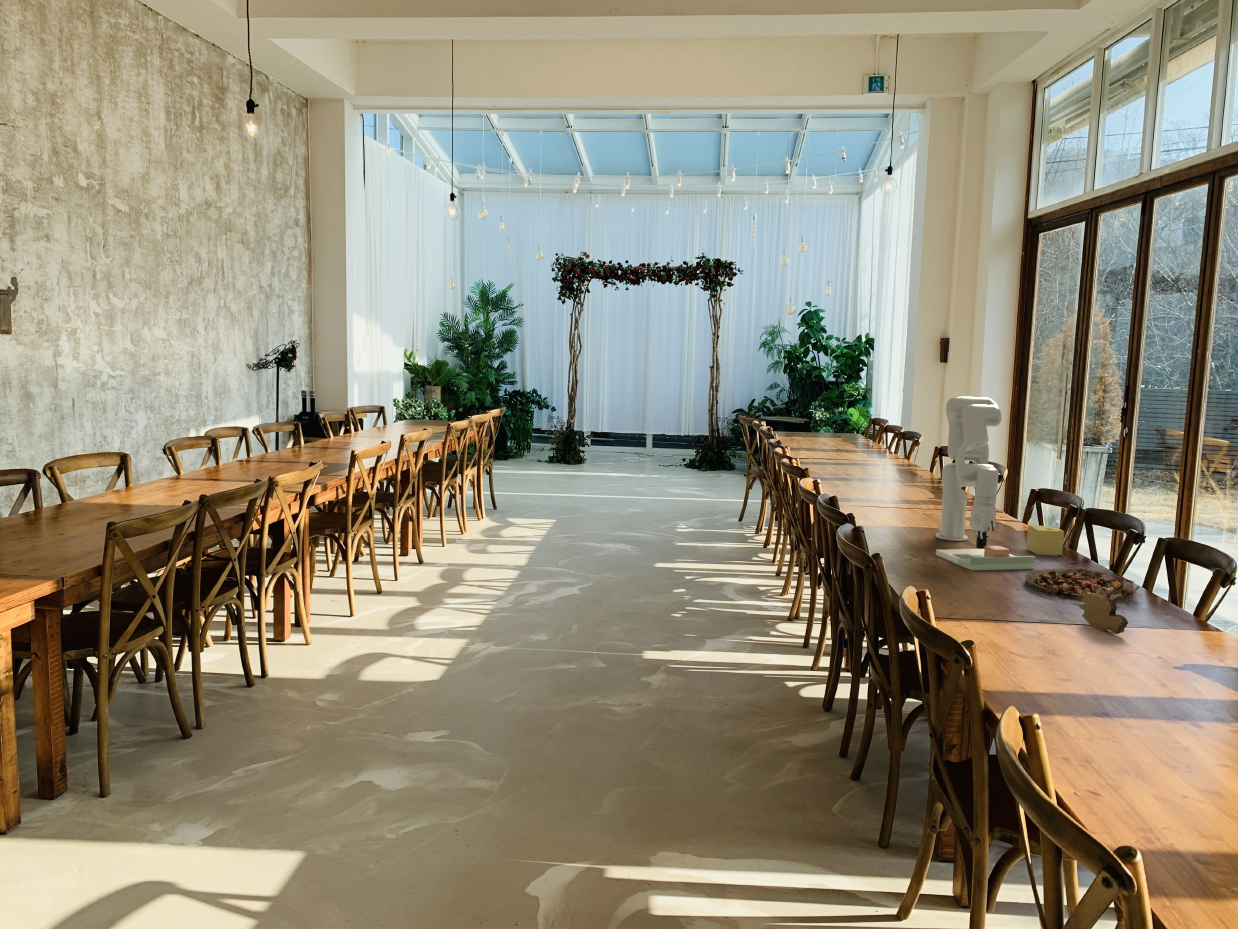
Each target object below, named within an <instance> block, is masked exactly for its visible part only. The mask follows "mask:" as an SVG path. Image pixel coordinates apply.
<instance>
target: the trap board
mask: <svg viewBox="0 0 1238 929" xmlns="http://www.w3.org/2000/svg"><path fill="white" fill-rule="evenodd" d="M935 550H936V551H935V556H938V557H940V558H942V559H945V560H947V561H949V562H952V563H954V564H955V565H958V566H960V567H963V568H965V569H968V570H970V571H989V570H990V571H992V570H993V571H995V570H998V571H999V570H1031V569H1032V570H1034V569H1035V564H1036V556H1034V555H1015V554H1014V555H1013V554H1011V553H1009V557H984V549H978V548H951V549H947V548H946V549H945V548H944V549H935Z"/></svg>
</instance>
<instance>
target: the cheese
mask: <svg viewBox="0 0 1238 929" xmlns="http://www.w3.org/2000/svg"><path fill="white" fill-rule="evenodd" d="M1026 532H1027V533H1026V541H1027V550H1028V551H1030V552H1032V553H1033V554H1035V555H1037V556H1038V555H1039V556H1040V555H1041V556H1058V555H1063V551H1064V549H1063V548H1064V538H1065V531H1064V530H1062V528H1061V529H1060V528H1058V527H1052V526H1051V527H1050V526H1045V525H1036V524H1029V525H1028V527H1027V531H1026Z"/></svg>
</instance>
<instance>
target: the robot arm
mask: <svg viewBox="0 0 1238 929" xmlns="http://www.w3.org/2000/svg"><path fill="white" fill-rule="evenodd" d="M945 413H946V414H945V415H946V418H947V421H948V435H947V436H948V438H947V439H948V440H947V455H948V457H949V459H950V460H955V461H954V462H953V463H948V464H945V465H944V466H943V467H942V470H941V477H942V478H941V479H942V501H941V516H940V517H941V519H940V525H939V526H937V529H938V530H939V532H937V533H935V537H936V538H938V539H940V540H944V541H950V542H953V541H954V542H963V541H968V540H969V536H968V535H966V534H965V530H966V519H967V518H966V517H967V516H966V514H967V505H968V504H967V501H968V498H967V495H966V493H965V491H964V490H963V488H964V487H965V488H966V487H967V488H968V487H970V488H974V498H973V499H974V500H973V503H972V507H971V511H970V516H969V517H970V518H969V527H970V528H971V529H973V531H974V532H975V537H976V545H975V547H976V548H975V549H985V546H988V545H987V544H988V539H989V537H990V536H993V532H995V530H996V526H997V523H996V522H997V511H996V510H997V509H996V506H997V493H998V484H999V483H998V482H999V470H998V469H997V468H996V467H995V466H994V465H993V464H990V463H989V457H990V456H989V454H990V447H989V444H988V442H989V435H988V434H989V433H988V428H987V427H997V426H1000V424H1001V422H1002V418H1003V417H1002V412H1001V409H1000V406H999V405H998V404H997V403H996V401H994V400H993V399H992V398H990V397H985V396H984V397H983V396H982V397H981V396H980V397H978V396H977V397H976V396H954V397H951V398H949V399H948V400H947V402H946V406H945ZM966 461H971V462H973V461H974V463H966ZM962 487H963V488H962Z"/></svg>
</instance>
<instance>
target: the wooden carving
mask: <svg viewBox="0 0 1238 929" xmlns="http://www.w3.org/2000/svg"><path fill="white" fill-rule="evenodd" d="M1083 602H1084V603H1083V604H1079V605H1078V608H1079V609H1080V610H1083V614H1082V615H1081V616H1082V618H1083V619H1084V620H1085V621H1086V623H1088V625H1090V626H1091V627H1092V628H1094V629H1096V630H1098V631H1101V632H1102V631H1103V632H1104V631H1105V632H1106V631H1110V632H1111V633H1112V634H1115V635H1118V634H1123V633H1124V632H1125V628H1126V627H1127V625H1128V624H1129V621H1128V620H1127V618H1126V617H1125V616H1123V615H1121V614H1117V605H1116V604H1117V603H1116V604H1115V602H1114V601H1111V600H1110V599H1109V598H1108V597H1106V596H1105V595H1101V594H1094V595H1093V594H1086V595H1085V597H1084V601H1083Z"/></svg>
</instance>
